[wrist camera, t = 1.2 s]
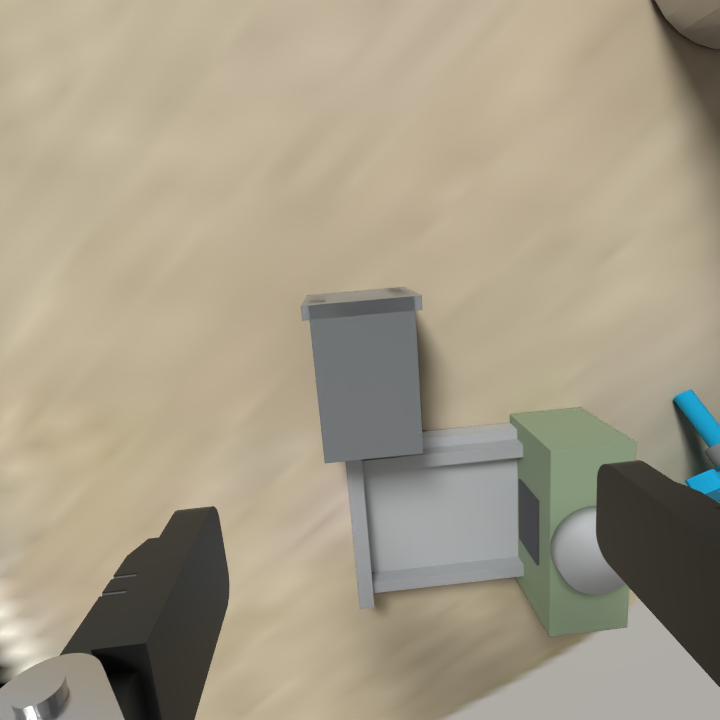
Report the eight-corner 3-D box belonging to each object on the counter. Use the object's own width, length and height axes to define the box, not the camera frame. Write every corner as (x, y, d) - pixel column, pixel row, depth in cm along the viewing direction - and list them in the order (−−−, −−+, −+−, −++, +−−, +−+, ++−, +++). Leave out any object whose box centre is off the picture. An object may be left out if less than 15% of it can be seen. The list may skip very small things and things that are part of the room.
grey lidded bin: (306, 295, 24) (300, 305, 19) (403, 287, 25) (421, 295, 20) (320, 424, 26) (318, 464, 21) (411, 415, 26) (430, 452, 21)
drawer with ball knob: (343, 431, 26) (347, 482, 20) (580, 407, 27) (650, 450, 21) (358, 589, 28) (365, 676, 22) (576, 564, 29) (639, 643, 23)
